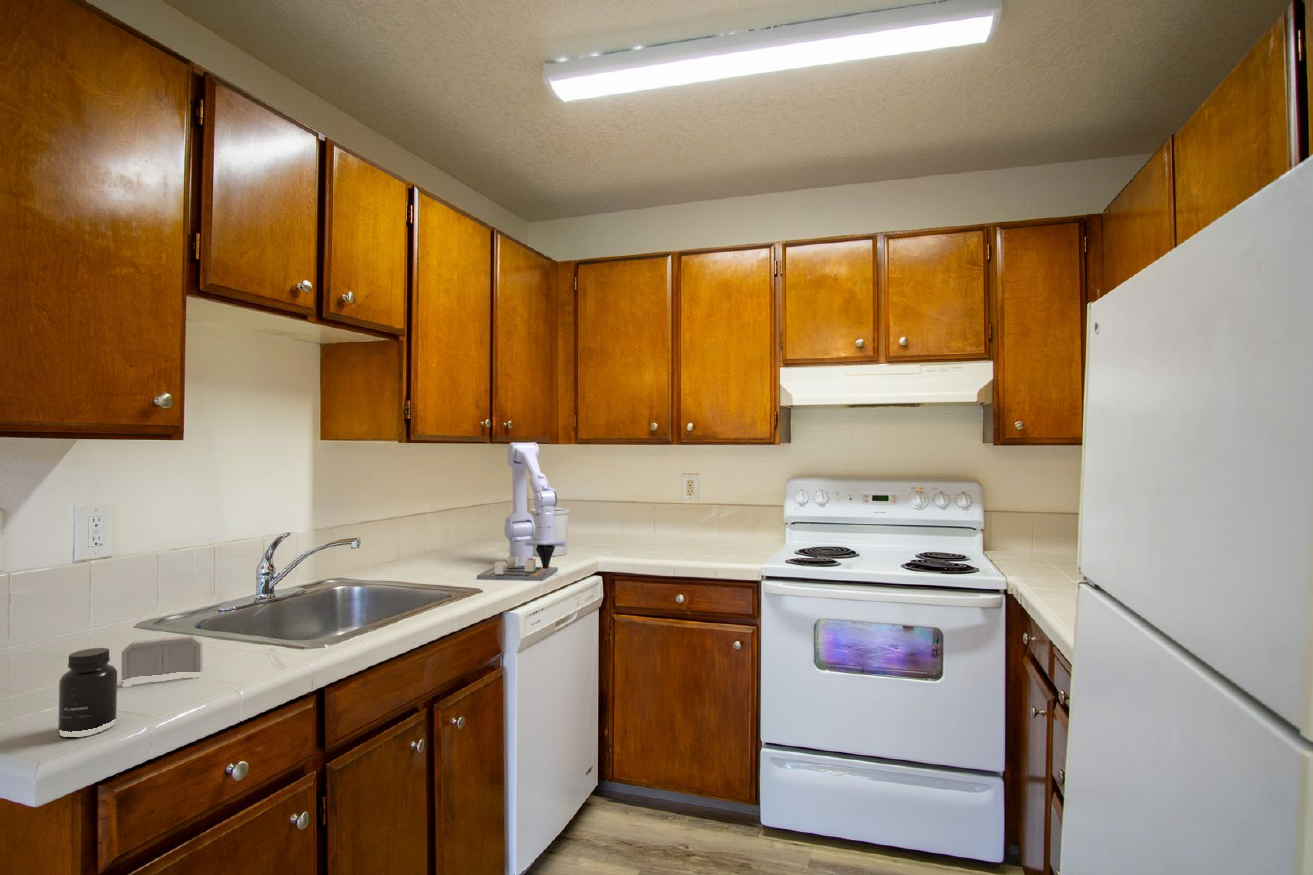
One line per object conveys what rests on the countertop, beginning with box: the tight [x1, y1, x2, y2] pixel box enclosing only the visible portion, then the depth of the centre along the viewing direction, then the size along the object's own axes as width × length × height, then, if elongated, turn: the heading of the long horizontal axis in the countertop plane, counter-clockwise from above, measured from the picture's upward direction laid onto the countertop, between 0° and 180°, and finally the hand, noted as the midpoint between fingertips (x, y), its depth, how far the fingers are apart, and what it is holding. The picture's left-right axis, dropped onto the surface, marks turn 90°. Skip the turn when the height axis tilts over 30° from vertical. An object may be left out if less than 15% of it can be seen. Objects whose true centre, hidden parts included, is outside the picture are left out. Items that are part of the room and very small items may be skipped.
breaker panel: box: [476, 555, 559, 582], centre depth 218 cm, size 16×22×5 cm
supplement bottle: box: [58, 647, 118, 732], centre depth 102 cm, size 7×7×12 cm
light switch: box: [121, 634, 203, 681], centre depth 123 cm, size 2×12×8 cm, turn 114°
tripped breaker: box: [524, 557, 537, 572], centre depth 218 cm, size 3×3×4 cm
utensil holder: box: [530, 507, 570, 557], centre depth 259 cm, size 15×15×18 cm
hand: (545, 568), depth 217 cm, fingers closed
